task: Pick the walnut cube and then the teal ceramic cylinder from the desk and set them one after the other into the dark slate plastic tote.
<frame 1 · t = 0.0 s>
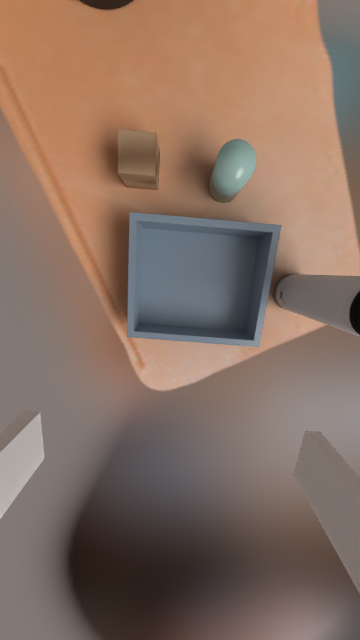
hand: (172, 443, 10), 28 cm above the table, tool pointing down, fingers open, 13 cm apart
tote: (196, 282, 36), on the table
teal cylinder: (224, 185, 32), on the table
walnut cube: (143, 171, 32), on the table
travel mug: (289, 292, 36), on the table
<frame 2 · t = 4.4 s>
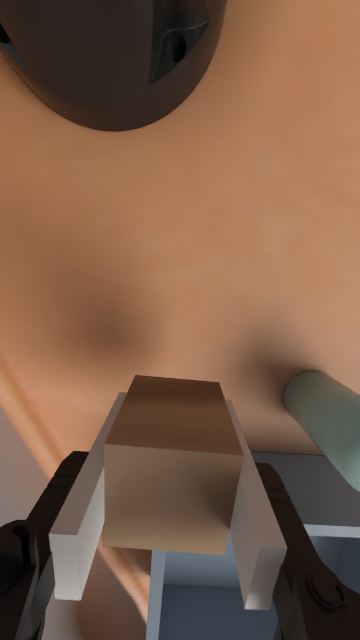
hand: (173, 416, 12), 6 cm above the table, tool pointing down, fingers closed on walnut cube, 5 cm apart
tote: (252, 522, 22), on the table
teal cylinder: (310, 395, 19), on the table
walnut cube: (173, 415, 13), point 6 cm above the table, touching gripper
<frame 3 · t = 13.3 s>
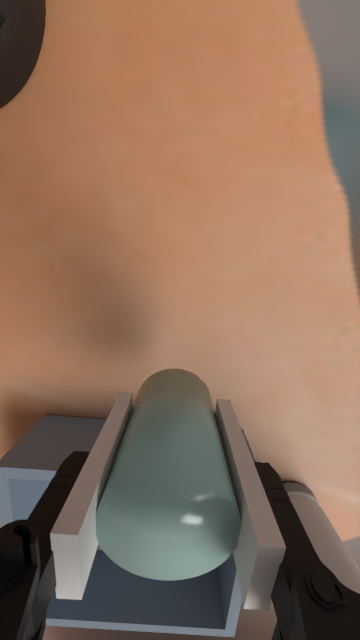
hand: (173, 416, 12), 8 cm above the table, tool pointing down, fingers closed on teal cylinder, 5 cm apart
tote: (140, 490, 23), on the table
teal cylinder: (174, 402, 14), point 7 cm above the table, touching gripper
travel mug: (285, 501, 24), on the table
when the fingers open (2 cm above the table, at t = 17.0 s): teal cylinder stays where it is, resting on tote.
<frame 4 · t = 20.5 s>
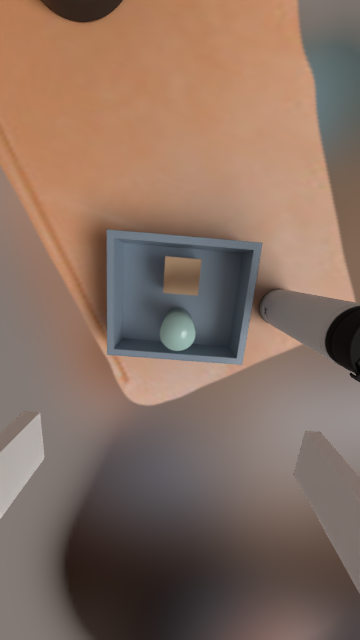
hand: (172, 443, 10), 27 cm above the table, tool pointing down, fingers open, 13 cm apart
tote: (179, 297, 35), on the table
teal cylinder: (178, 321, 35), point 1 cm above the table, touching tote
walnut cube: (181, 275, 33), point 1 cm above the table, touching tote
travel mug: (275, 307, 36), on the table
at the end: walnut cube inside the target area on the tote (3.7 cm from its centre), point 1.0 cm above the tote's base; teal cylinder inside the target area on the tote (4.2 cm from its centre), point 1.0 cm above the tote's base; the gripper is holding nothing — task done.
